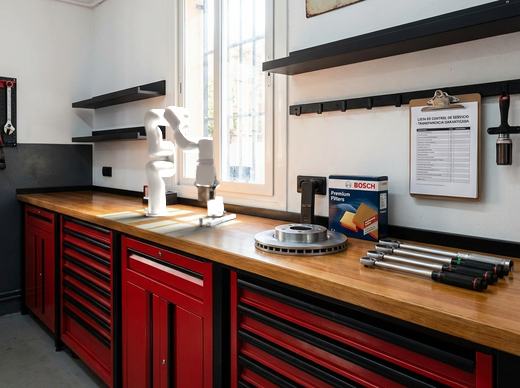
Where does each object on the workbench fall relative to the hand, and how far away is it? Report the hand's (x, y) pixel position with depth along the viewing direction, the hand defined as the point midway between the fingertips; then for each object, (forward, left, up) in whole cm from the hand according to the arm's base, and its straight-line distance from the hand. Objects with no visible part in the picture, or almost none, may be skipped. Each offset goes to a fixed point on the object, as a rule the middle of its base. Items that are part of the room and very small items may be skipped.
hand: (207, 198), depth 206 cm
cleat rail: (+5, +7, -13) cm, 15 cm away
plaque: (0, 0, -1) cm, 1 cm away
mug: (-7, +24, -13) cm, 28 cm away
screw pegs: (0, +7, -13) cm, 14 cm away
